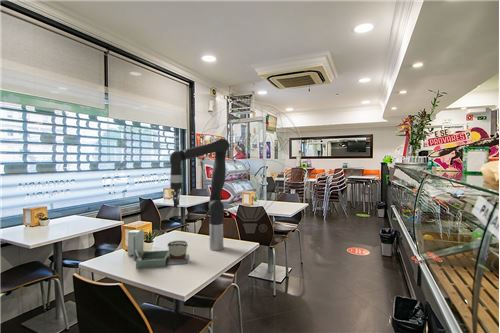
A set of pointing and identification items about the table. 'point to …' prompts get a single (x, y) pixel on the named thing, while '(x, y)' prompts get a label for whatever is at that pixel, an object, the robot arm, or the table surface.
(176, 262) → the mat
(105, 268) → the table surface
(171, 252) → the food container
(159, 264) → the case
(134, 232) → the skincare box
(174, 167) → the robot arm
